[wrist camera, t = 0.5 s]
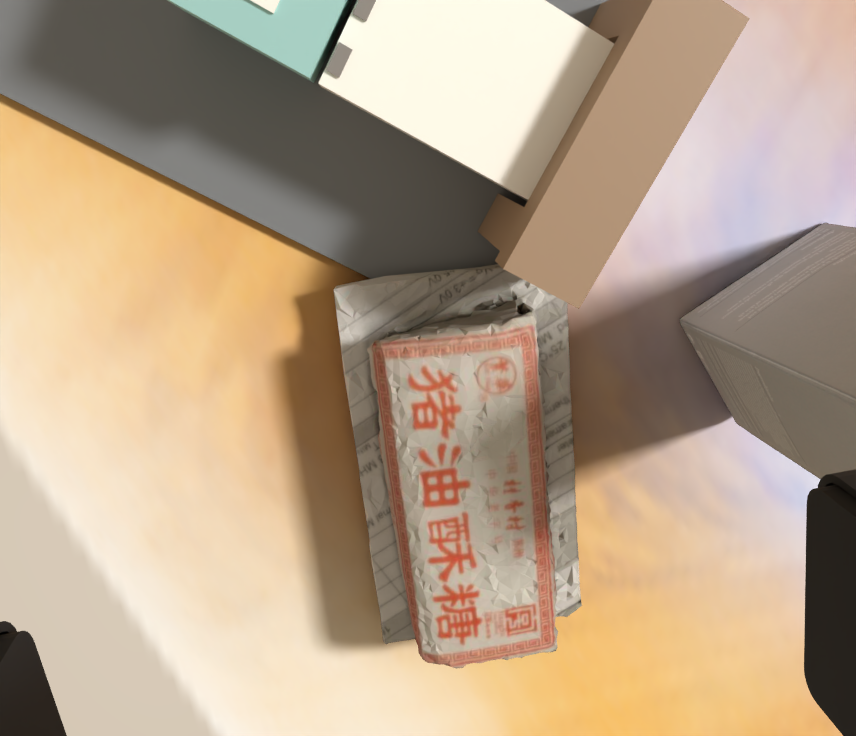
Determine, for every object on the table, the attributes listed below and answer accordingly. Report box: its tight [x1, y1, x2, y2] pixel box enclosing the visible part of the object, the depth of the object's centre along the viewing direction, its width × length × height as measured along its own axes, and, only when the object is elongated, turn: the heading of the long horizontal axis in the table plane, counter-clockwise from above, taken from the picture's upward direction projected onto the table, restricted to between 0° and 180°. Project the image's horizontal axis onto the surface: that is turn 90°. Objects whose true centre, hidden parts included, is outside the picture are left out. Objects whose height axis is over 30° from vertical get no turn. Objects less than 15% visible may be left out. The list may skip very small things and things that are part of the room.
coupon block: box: [318, 0, 749, 309], centre depth 30 cm, size 11×12×7 cm
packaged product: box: [334, 264, 582, 668], centre depth 36 cm, size 18×5×10 cm
